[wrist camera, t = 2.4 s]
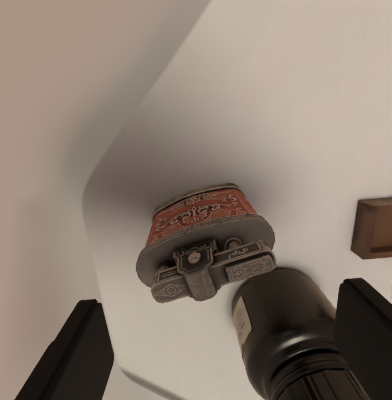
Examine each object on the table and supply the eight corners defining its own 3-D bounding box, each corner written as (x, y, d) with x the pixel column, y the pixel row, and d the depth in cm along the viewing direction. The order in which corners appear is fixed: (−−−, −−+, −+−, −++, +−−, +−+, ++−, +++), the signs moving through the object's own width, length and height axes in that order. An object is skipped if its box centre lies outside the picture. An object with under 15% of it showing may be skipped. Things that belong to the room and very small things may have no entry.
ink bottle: (211, 296, 23) (235, 462, 12) (288, 246, 22) (397, 382, 11) (264, 352, 26) (324, 532, 15) (335, 311, 25) (463, 475, 13)
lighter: (161, 239, 21) (141, 335, 12) (147, 205, 20) (112, 281, 11) (248, 211, 21) (300, 288, 11) (238, 175, 20) (286, 226, 10)
